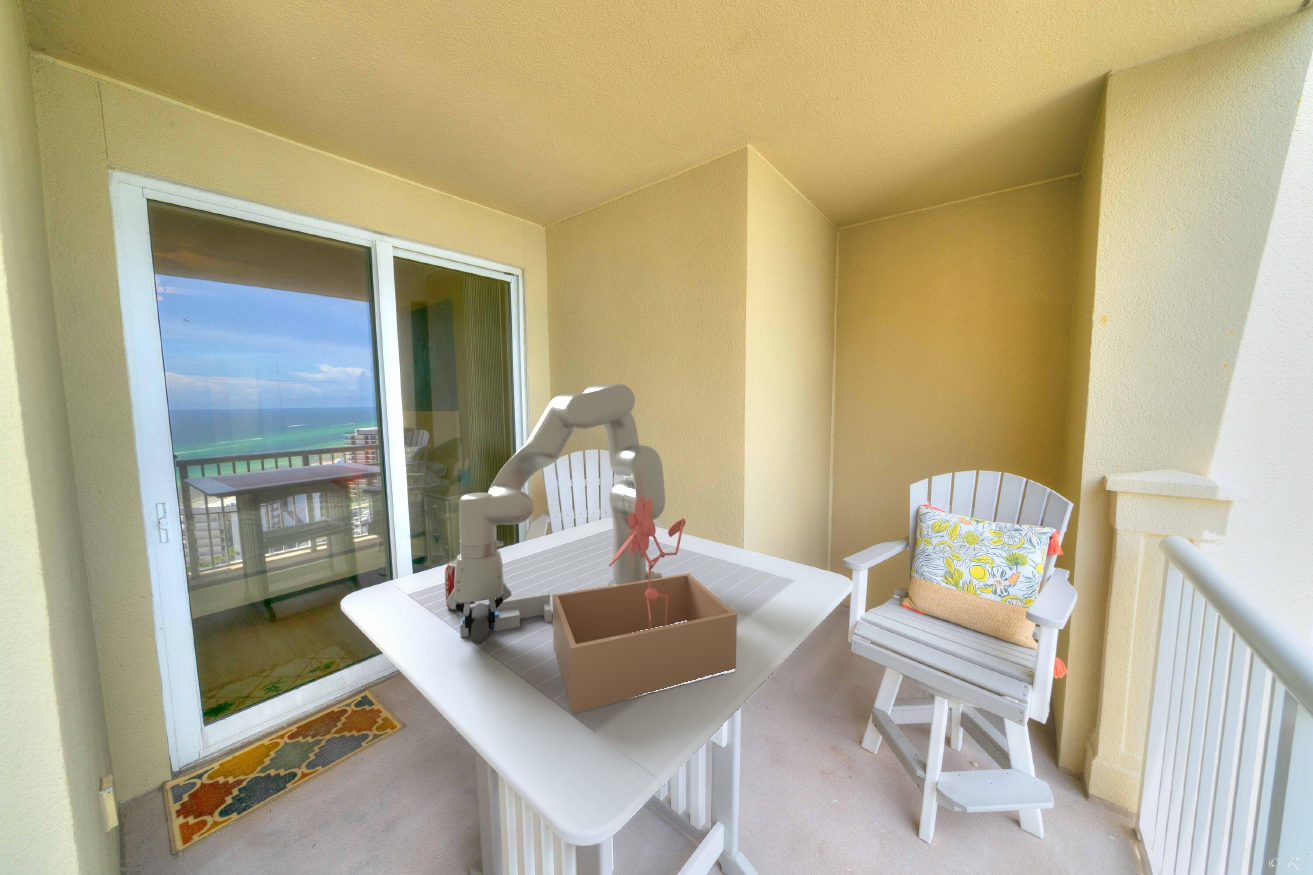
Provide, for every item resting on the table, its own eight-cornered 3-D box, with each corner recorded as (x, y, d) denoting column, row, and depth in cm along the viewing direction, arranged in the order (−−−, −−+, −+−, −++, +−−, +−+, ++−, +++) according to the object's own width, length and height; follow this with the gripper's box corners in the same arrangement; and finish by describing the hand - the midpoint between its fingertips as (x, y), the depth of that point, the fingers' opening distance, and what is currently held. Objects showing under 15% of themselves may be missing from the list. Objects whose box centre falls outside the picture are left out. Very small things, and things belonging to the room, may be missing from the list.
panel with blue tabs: (549, 610, 112) (549, 592, 111) (552, 620, 107) (552, 601, 106) (460, 625, 104) (459, 605, 104) (459, 637, 99) (458, 616, 99)
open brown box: (688, 619, 107) (688, 573, 106) (735, 671, 87) (736, 614, 86) (553, 647, 95) (552, 594, 94) (571, 714, 75) (571, 648, 74)
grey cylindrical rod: (472, 619, 102) (472, 604, 102) (488, 616, 104) (488, 602, 103) (470, 645, 91) (470, 629, 91) (489, 642, 93) (489, 626, 92)
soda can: (464, 613, 110) (462, 567, 109) (439, 610, 112) (438, 565, 111) (480, 601, 117) (479, 558, 116) (457, 598, 119) (456, 556, 118)
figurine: (694, 636, 100) (693, 486, 97) (647, 708, 76) (643, 514, 74) (635, 623, 106) (632, 483, 103) (575, 686, 83) (568, 507, 80)
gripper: (516, 540, 103) (517, 614, 104) (438, 547, 96) (441, 626, 98) (518, 550, 96) (520, 629, 97) (435, 559, 89) (437, 644, 91)
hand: (480, 627), depth 97 cm, fingers closed on grey cylindrical rod, 3 cm apart
